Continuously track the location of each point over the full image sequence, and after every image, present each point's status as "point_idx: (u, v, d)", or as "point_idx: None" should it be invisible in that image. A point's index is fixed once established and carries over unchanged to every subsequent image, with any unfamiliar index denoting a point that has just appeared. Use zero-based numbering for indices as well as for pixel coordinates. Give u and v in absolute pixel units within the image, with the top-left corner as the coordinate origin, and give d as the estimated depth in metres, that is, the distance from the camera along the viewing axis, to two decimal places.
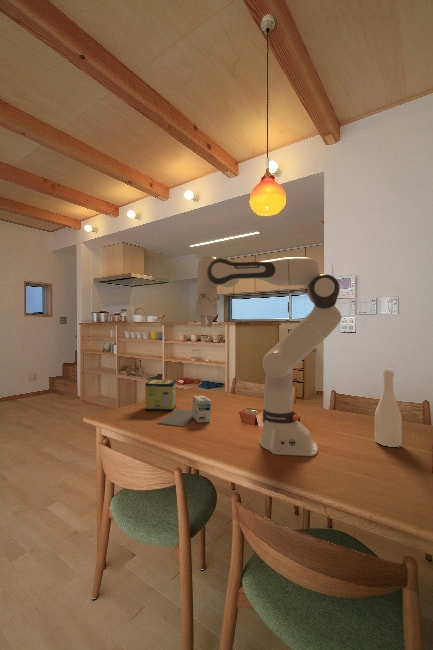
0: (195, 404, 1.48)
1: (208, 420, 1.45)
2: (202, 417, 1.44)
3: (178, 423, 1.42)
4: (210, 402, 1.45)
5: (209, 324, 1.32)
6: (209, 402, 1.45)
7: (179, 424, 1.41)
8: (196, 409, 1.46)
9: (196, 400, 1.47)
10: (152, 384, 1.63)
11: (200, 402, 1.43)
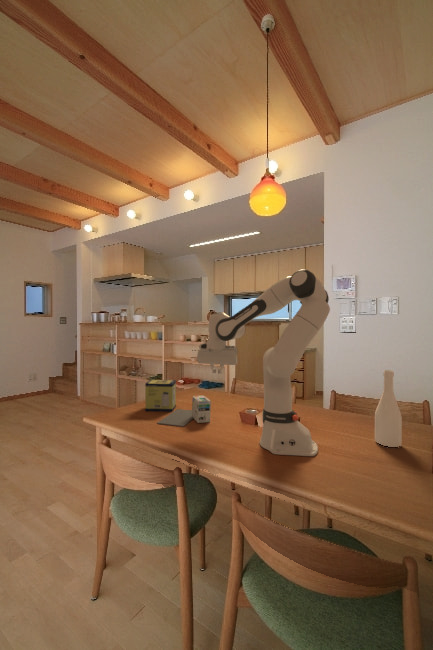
0: (195, 404, 1.48)
1: (208, 420, 1.45)
2: (202, 417, 1.44)
3: (178, 423, 1.42)
4: (209, 402, 1.45)
5: (215, 371, 1.47)
6: (208, 402, 1.45)
7: (179, 424, 1.41)
8: (196, 409, 1.45)
9: (195, 400, 1.47)
10: (152, 384, 1.63)
11: (199, 403, 1.43)
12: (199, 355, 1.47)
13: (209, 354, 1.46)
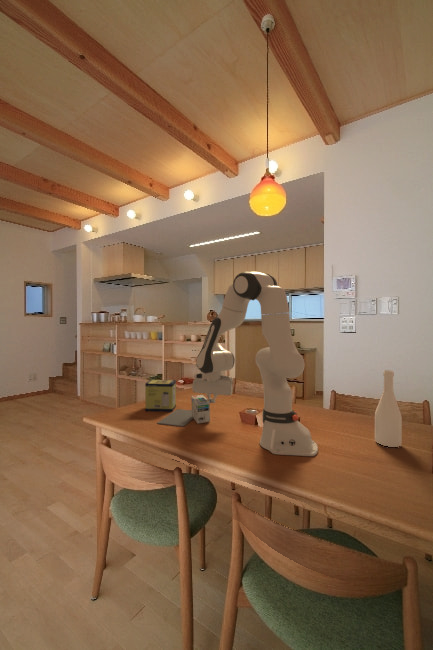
0: (194, 405, 1.47)
1: (208, 420, 1.45)
2: (201, 418, 1.44)
3: (178, 423, 1.42)
4: (208, 402, 1.44)
5: None
6: (207, 402, 1.44)
7: (179, 424, 1.41)
8: (195, 410, 1.45)
9: (194, 401, 1.46)
10: (152, 384, 1.63)
11: (198, 403, 1.43)
12: (194, 384, 1.47)
13: (204, 384, 1.46)
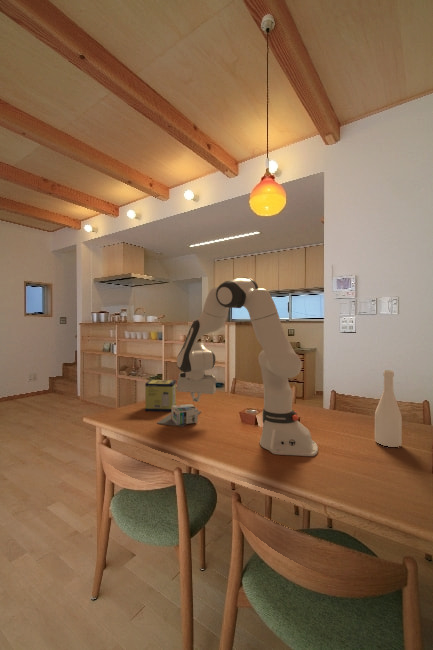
0: None
1: (196, 411, 1.43)
2: (193, 418, 1.42)
3: None
4: (178, 412, 1.40)
5: None
6: (178, 413, 1.40)
7: None
8: None
9: None
10: (152, 384, 1.63)
11: (178, 423, 1.40)
12: (178, 383, 1.50)
13: (188, 383, 1.49)
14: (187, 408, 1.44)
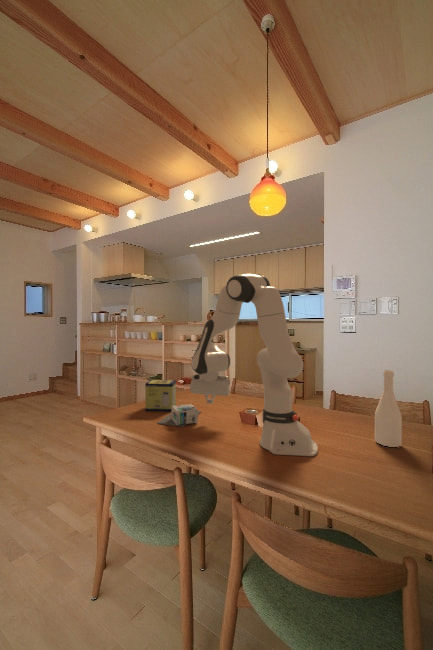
0: None
1: (196, 411, 1.43)
2: (193, 418, 1.42)
3: None
4: (178, 412, 1.40)
5: None
6: (178, 413, 1.39)
7: None
8: None
9: None
10: (152, 384, 1.63)
11: (178, 423, 1.40)
12: (192, 385, 1.49)
13: (202, 384, 1.48)
14: (187, 408, 1.44)
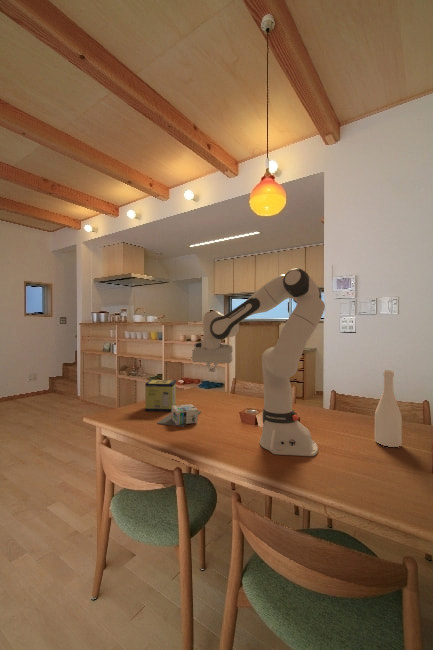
0: None
1: (196, 411, 1.43)
2: (193, 418, 1.42)
3: None
4: (178, 412, 1.40)
5: None
6: (178, 413, 1.39)
7: None
8: None
9: None
10: (152, 384, 1.63)
11: (178, 423, 1.40)
12: (194, 354, 1.47)
13: (204, 353, 1.47)
14: (187, 408, 1.44)
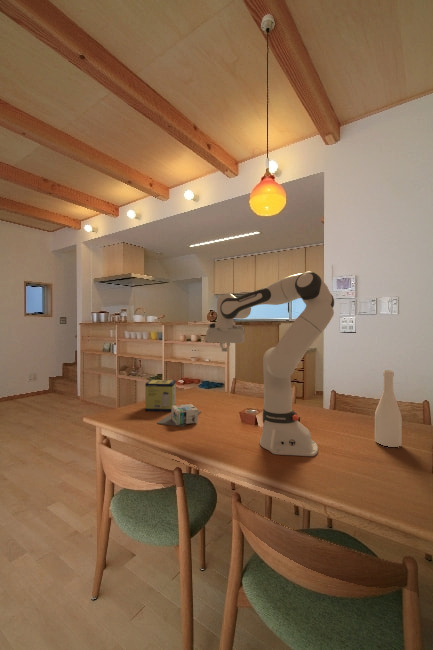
0: None
1: (196, 411, 1.43)
2: (193, 418, 1.42)
3: None
4: (178, 412, 1.40)
5: None
6: (178, 413, 1.39)
7: None
8: None
9: None
10: (152, 384, 1.63)
11: (178, 423, 1.40)
12: (208, 334, 1.55)
13: (217, 333, 1.54)
14: (187, 408, 1.44)
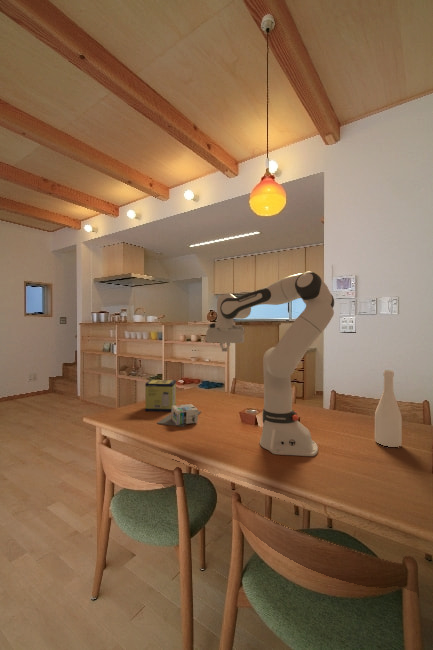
0: None
1: (196, 411, 1.43)
2: (193, 418, 1.42)
3: None
4: (178, 412, 1.40)
5: None
6: (178, 413, 1.39)
7: None
8: None
9: None
10: (152, 384, 1.63)
11: (178, 423, 1.40)
12: (208, 334, 1.55)
13: (217, 333, 1.54)
14: (187, 408, 1.44)
